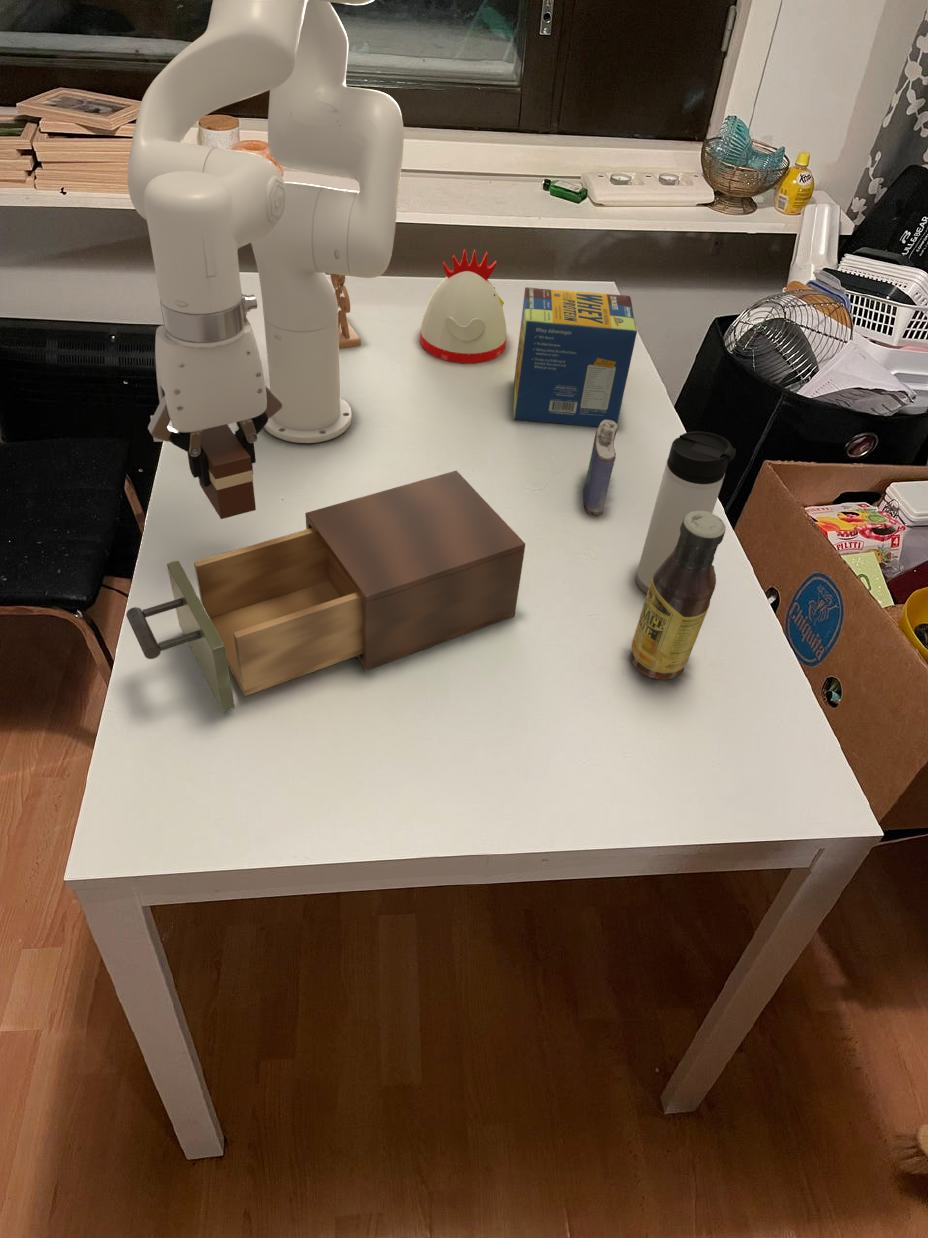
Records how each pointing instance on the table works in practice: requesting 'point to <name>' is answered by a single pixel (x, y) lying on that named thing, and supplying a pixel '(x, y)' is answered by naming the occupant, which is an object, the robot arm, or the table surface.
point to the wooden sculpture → (344, 314)
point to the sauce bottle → (678, 599)
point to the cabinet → (423, 563)
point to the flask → (600, 468)
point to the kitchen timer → (465, 315)
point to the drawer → (261, 614)
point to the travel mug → (683, 494)
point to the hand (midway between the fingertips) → (224, 472)
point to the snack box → (228, 473)
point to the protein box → (573, 356)
